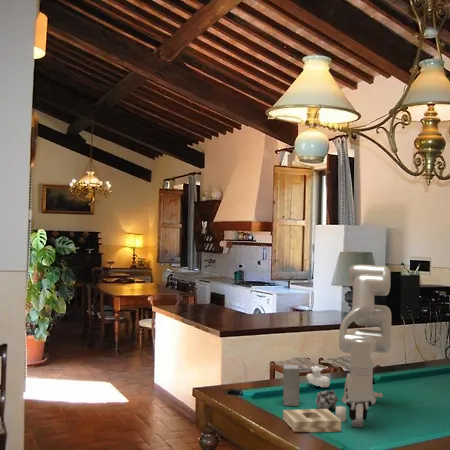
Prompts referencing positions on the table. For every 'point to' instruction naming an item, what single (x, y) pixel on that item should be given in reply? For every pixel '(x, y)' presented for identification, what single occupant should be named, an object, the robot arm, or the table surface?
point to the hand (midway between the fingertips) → (357, 418)
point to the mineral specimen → (326, 399)
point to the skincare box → (291, 385)
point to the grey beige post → (358, 414)
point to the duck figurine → (318, 377)
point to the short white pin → (341, 413)
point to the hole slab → (312, 420)
